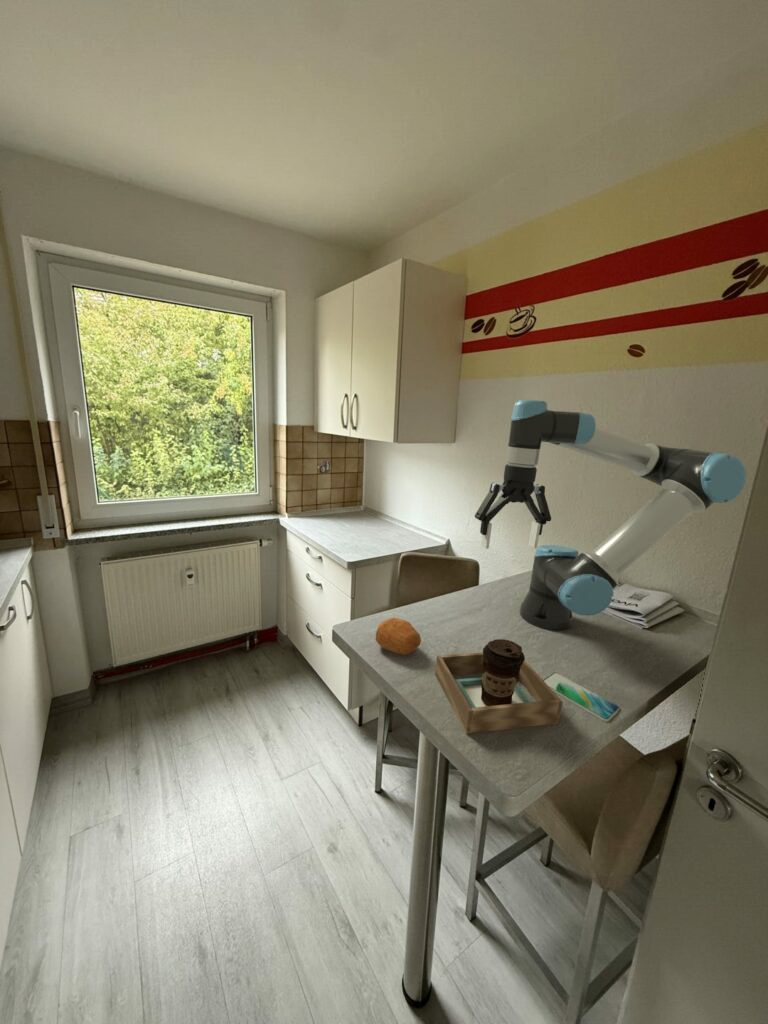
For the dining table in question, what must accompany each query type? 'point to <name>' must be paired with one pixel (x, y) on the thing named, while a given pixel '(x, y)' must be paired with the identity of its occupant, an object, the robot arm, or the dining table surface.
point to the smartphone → (582, 697)
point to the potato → (397, 636)
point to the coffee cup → (500, 671)
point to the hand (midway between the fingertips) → (509, 546)
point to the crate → (499, 717)
